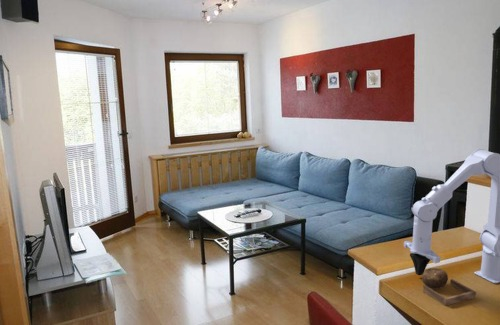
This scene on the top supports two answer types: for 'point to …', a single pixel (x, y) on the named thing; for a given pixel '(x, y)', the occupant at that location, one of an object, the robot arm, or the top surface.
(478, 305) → the top surface
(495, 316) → the top surface
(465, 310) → the top surface
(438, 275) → the mushroom
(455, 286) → the walnut frame
